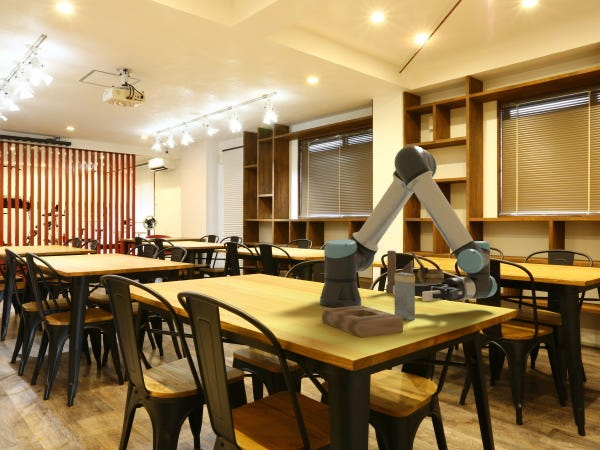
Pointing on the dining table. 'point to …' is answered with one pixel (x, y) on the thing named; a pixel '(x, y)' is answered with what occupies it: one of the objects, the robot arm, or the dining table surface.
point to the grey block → (405, 295)
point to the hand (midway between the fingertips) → (407, 293)
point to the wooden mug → (429, 274)
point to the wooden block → (392, 270)
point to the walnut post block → (362, 321)
